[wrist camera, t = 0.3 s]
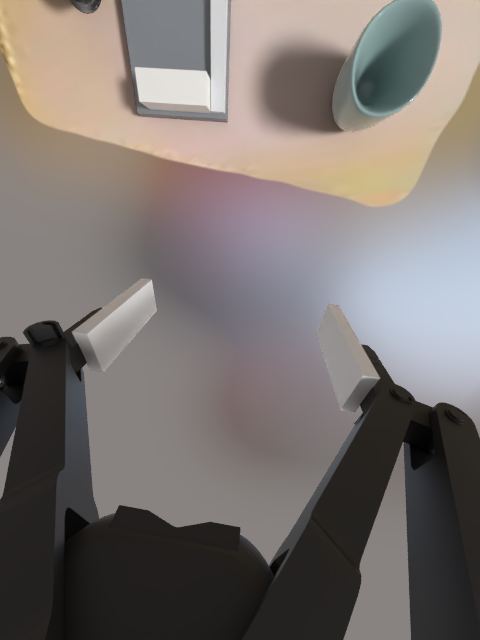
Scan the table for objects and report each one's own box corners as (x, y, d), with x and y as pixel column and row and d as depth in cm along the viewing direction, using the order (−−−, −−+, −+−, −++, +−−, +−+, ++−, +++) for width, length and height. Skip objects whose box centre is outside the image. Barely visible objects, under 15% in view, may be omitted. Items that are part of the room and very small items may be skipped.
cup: (323, 144, 30) (345, 125, 22) (326, 66, 26) (355, 8, 18) (381, 131, 29) (428, 107, 21) (393, 48, 25) (458, -24, 17)
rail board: (115, -85, 22) (85, -141, 19) (233, -83, 22) (226, -141, 18) (142, 116, 31) (125, 105, 27) (227, 122, 30) (221, 112, 26)
